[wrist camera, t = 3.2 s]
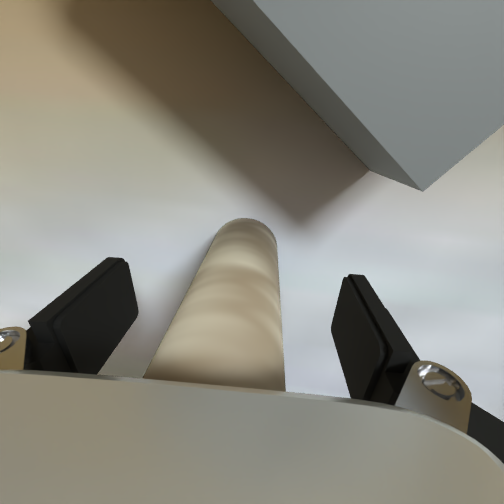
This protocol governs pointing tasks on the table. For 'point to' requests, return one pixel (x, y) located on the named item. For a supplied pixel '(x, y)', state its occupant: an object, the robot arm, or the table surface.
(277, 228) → the table surface
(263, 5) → the socket block
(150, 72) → the table surface
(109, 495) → the robot arm
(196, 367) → the birch peg
